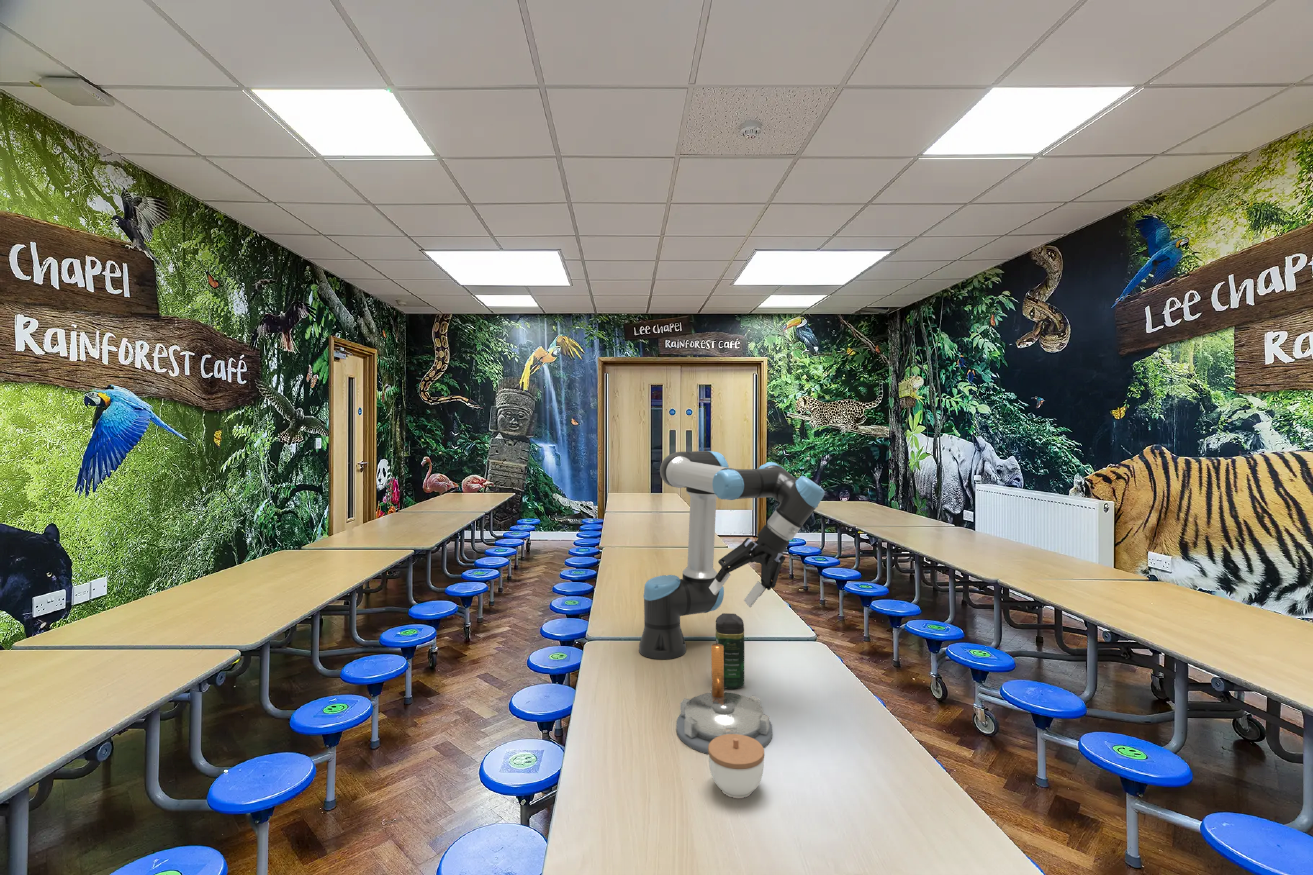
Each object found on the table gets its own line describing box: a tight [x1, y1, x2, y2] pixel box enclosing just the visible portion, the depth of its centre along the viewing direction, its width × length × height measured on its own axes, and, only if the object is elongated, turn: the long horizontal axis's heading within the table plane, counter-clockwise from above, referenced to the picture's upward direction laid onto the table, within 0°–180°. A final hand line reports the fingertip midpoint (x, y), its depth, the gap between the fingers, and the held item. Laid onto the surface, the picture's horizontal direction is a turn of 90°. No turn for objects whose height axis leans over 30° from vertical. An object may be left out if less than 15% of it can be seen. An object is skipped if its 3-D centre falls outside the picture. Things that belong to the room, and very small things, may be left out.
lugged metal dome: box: [679, 643, 770, 741], centre depth 128 cm, size 21×19×15 cm
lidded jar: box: [707, 734, 765, 799], centre depth 106 cm, size 11×11×9 cm
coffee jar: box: [715, 612, 745, 690], centre depth 154 cm, size 10×8×19 cm
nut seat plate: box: [676, 713, 773, 755], centre depth 128 cm, size 22×22×2 cm
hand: (730, 597), depth 143 cm, fingers open, 13 cm apart
